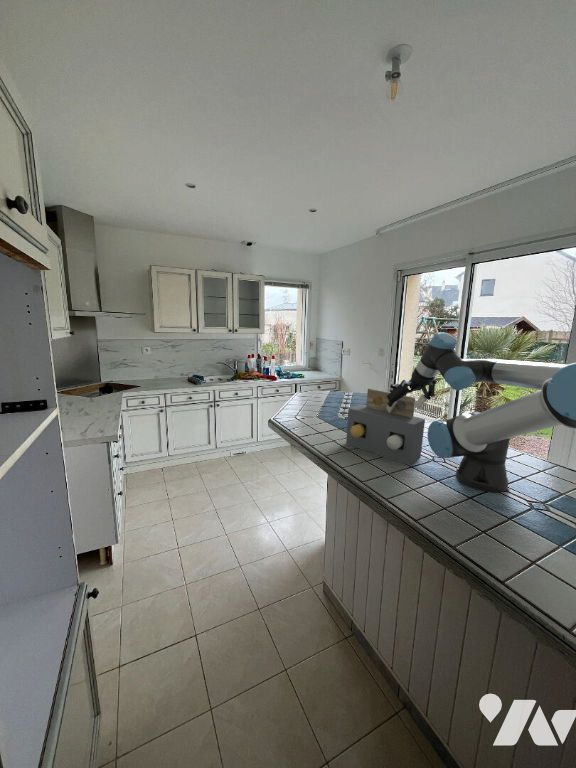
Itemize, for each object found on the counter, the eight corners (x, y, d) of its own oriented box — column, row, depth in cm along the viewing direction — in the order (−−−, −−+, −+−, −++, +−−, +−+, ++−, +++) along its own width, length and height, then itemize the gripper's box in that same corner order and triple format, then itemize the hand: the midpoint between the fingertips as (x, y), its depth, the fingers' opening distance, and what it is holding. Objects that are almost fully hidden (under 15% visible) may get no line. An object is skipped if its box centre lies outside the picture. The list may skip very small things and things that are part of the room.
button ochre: (360, 439, 126) (361, 427, 125) (350, 435, 129) (350, 424, 128) (365, 437, 128) (366, 425, 127) (354, 433, 132) (355, 422, 131)
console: (409, 465, 116) (414, 424, 113) (346, 443, 135) (348, 408, 132) (420, 457, 123) (425, 419, 120) (358, 438, 142) (361, 404, 139)
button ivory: (398, 451, 115) (400, 438, 114) (386, 447, 118) (387, 434, 117) (402, 448, 118) (404, 436, 117) (390, 444, 121) (391, 432, 120)
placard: (411, 418, 120) (414, 398, 119) (365, 407, 134) (367, 388, 132) (413, 417, 121) (415, 397, 120) (367, 406, 135) (368, 388, 133)
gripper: (448, 361, 118) (424, 398, 133) (390, 366, 112) (371, 404, 127) (460, 375, 113) (433, 412, 128) (400, 381, 107) (379, 419, 122)
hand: (403, 408), depth 128 cm, fingers open, 13 cm apart
